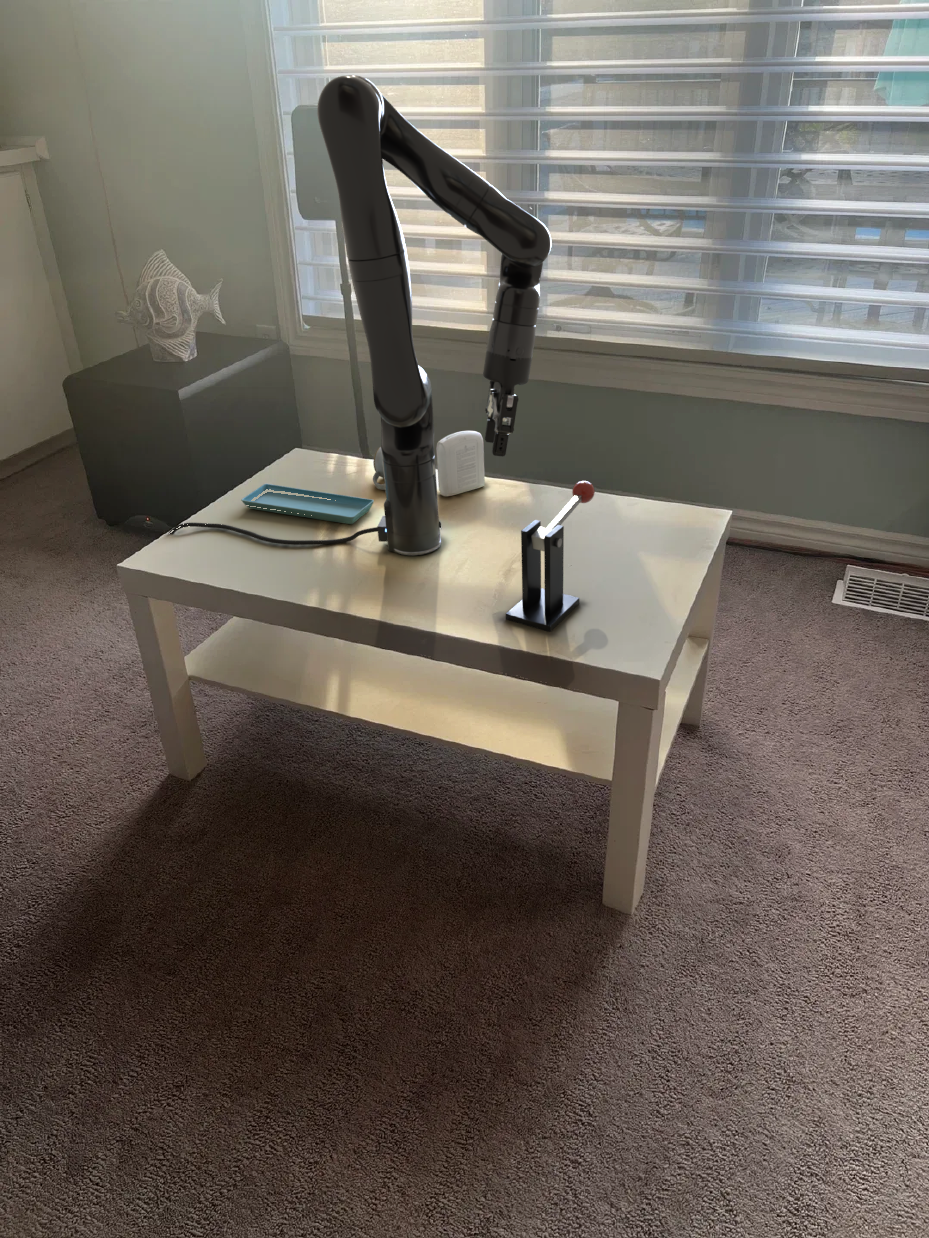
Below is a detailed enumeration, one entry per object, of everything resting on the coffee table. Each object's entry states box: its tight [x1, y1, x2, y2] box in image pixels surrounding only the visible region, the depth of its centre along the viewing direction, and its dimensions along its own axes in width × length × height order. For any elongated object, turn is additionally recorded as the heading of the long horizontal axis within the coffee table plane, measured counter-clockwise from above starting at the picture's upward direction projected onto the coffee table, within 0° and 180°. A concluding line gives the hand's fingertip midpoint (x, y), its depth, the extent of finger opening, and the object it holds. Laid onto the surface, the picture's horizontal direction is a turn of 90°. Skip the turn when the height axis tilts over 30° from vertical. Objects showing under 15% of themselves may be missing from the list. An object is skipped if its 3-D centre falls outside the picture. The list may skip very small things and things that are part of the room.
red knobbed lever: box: [531, 480, 596, 552], centre depth 144 cm, size 17×4×4 cm, turn 147°
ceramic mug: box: [372, 446, 386, 491], centre depth 195 cm, size 11×8×8 cm
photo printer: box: [435, 430, 486, 497], centre depth 188 cm, size 10×4×12 cm, turn 123°
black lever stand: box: [505, 519, 580, 633], centre depth 143 cm, size 10×8×15 cm
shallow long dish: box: [240, 483, 375, 525], centre depth 185 cm, size 26×9×2 cm, turn 67°
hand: (494, 448), depth 155 cm, fingers open, 8 cm apart
